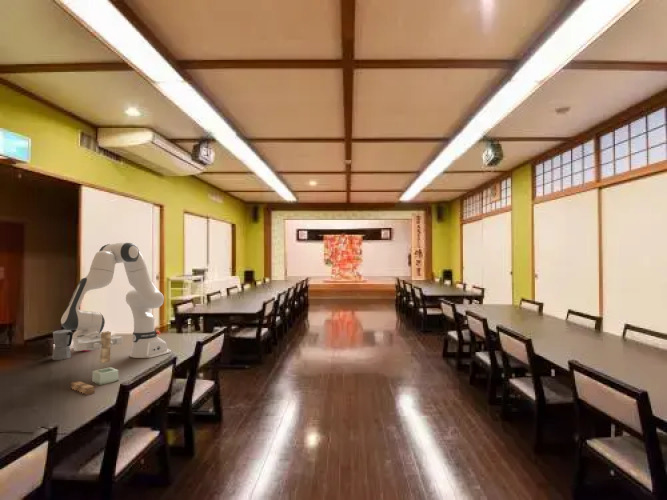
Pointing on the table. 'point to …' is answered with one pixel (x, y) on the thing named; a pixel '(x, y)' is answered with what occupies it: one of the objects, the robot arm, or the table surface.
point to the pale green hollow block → (105, 376)
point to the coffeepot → (62, 344)
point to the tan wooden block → (105, 347)
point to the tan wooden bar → (82, 387)
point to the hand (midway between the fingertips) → (106, 345)
